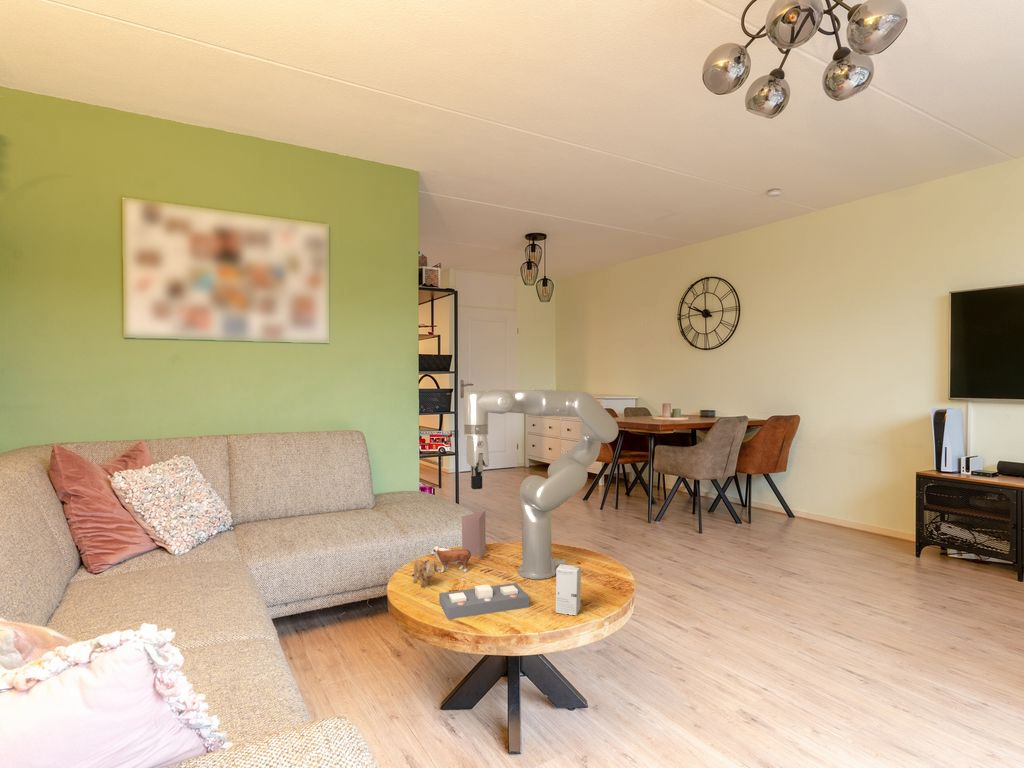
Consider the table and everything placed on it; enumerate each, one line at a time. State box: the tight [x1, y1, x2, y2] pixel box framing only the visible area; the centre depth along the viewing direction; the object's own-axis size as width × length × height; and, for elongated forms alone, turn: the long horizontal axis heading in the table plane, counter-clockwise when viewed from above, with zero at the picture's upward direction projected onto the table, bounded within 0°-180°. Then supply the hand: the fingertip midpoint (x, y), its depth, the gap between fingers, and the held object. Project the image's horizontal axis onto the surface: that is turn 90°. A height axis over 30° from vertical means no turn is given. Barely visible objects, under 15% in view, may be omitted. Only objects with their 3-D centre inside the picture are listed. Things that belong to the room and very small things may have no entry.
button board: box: [438, 582, 530, 620], centre depth 158 cm, size 23×11×3 cm, turn 109°
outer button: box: [449, 592, 466, 603], centre depth 156 cm, size 4×4×4 cm
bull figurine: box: [431, 545, 472, 574], centre depth 186 cm, size 4×13×8 cm, turn 84°
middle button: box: [474, 583, 493, 599], centre depth 158 cm, size 4×4×4 cm
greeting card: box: [461, 510, 487, 562], centre depth 201 cm, size 11×7×15 cm, turn 136°
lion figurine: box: [411, 558, 441, 589], centre depth 175 cm, size 15×5×9 cm, turn 37°
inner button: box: [500, 585, 518, 595], centre depth 160 cm, size 4×4×4 cm
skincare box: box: [555, 564, 582, 616], centre depth 153 cm, size 6×4×12 cm
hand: (476, 488), depth 177 cm, fingers closed
